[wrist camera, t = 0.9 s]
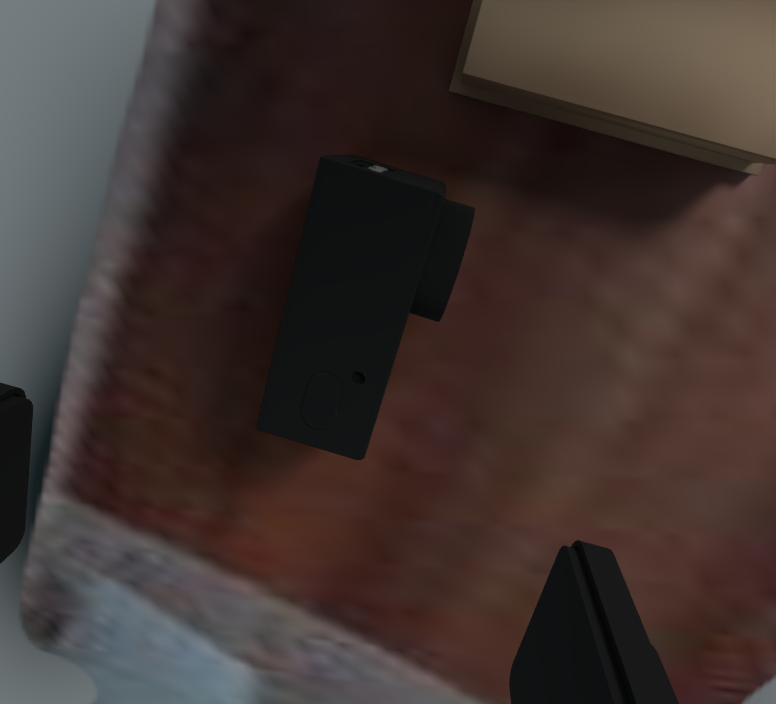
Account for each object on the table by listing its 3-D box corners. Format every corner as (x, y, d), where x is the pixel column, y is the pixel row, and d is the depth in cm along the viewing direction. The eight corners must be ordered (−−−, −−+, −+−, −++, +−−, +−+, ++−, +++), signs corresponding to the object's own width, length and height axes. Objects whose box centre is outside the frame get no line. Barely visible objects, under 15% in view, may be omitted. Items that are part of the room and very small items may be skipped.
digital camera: (404, 402, 30) (391, 475, 23) (297, 370, 30) (253, 433, 23) (473, 190, 26) (481, 204, 20) (352, 153, 26) (319, 156, 20)
